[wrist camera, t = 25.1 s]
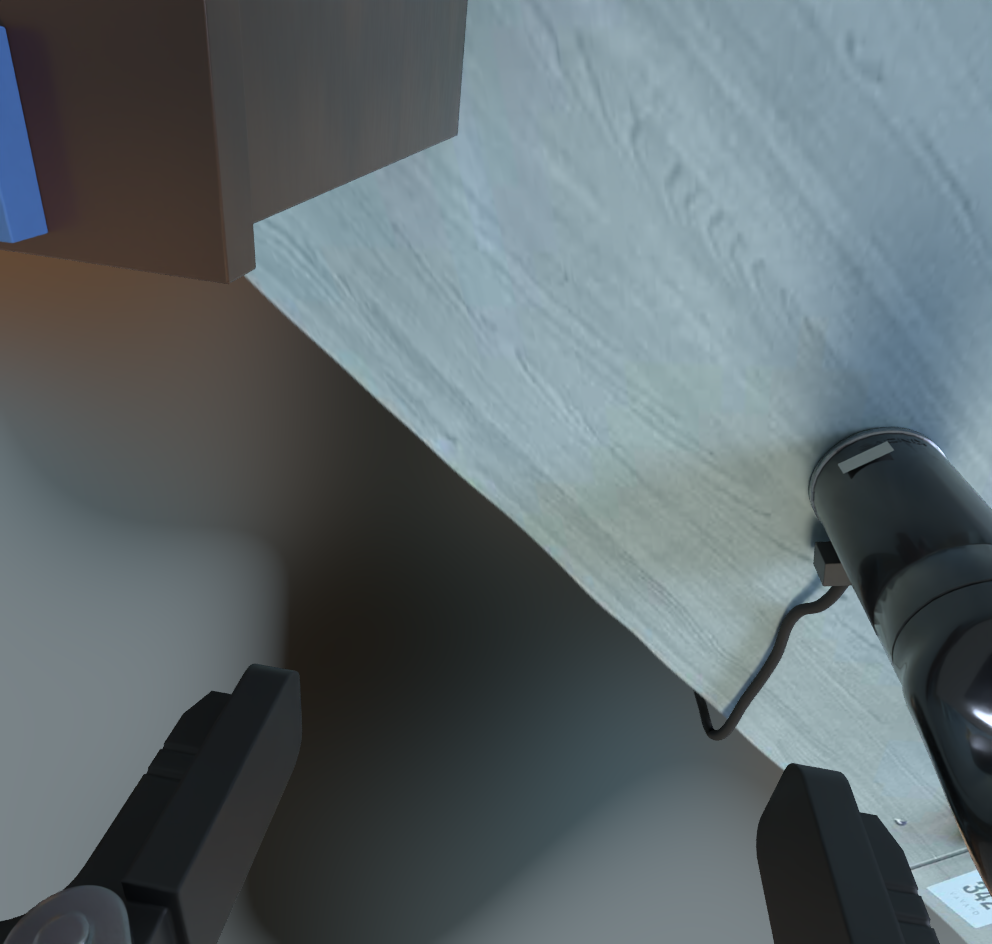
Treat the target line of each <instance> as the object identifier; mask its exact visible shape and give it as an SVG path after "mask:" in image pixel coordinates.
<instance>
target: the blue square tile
mask: <svg viewBox="0 0 992 944" xmlns="http://www.w3.org/2000/svg"><path fill="white" fill-rule="evenodd" d="M46 233H48V229H47V225H46V220H45V215H44V210H43V206H42V201H41V196H40V191H39V186H38V182H37V177H36V172H35V167H34V163H33V158H32V153H31V148H30V143H29V139H28V134H27V129H26V124H25V120H24V115H23V110H22V105H21V100H20V96H19V91H18V86H17V81H16V77H15V72H14V67H13V62H12V57H11V53H10V48H9V43H8V38H7V34H6V29H5V28H4V27H3V26H0V241H1V242H7V243H15V242H19V241H22V240H26V239H29V238H33V237H36V236H39V235H43V234H46Z"/></svg>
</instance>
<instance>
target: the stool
mask: <svg viewBox="0 0 992 944" xmlns="http://www.w3.org/2000/svg"><path fill="white" fill-rule="evenodd" d="M467 1H468V0H0V26H3V27H4V28H5V29H6V34H7V38H8V43H9V48H10V53H11V57H12V62H13V67H14V72H15V77H16V81H17V86H18V91H19V96H20V100H21V105H22V110H23V115H24V120H25V124H26V129H27V134H28V139H29V143H30V148H31V153H32V158H33V163H34V167H35V172H36V177H37V182H38V186H39V191H40V196H41V201H42V206H43V210H44V215H45V220H46V225H47V229H48V233H46V234H43V235H39V236H36V237H33V238H29V239H26V240H22V241H19V242H15V243H7V242H1V241H0V250H6V251H13V252H19V253H26V254H32V255H39V256H46V257H52V258H59V259H65V260H72V261H79V262H85V263H92V264H99V265H105V266H112V267H118V268H125V269H132V270H138V271H145V272H152V273H158V274H165V275H171V276H178V277H184V278H191V279H198V280H205V281H211V282H218V283H224V284H229V283H231V282H233V281H234V280H236V279H238V278H240V277H241V276H243V275H245V274H247V273H249V272H250V271H252V270H254V269H255V268H256V263H255V247H254V231H253V224H254V223H256V222H258V221H261V220H263V219H265V218H268V217H270V216H272V215H275V214H277V213H279V212H281V211H284V210H286V209H288V208H291V207H293V206H295V205H298V204H300V203H302V202H305V201H307V200H309V199H311V198H314V197H316V196H318V195H321V194H323V193H325V192H328V191H330V190H332V189H334V188H337V187H339V186H341V185H344V184H346V183H348V182H351V181H353V180H355V179H357V178H360V177H362V176H364V175H367V174H369V173H371V172H374V171H376V170H378V169H381V168H383V167H385V166H387V165H390V164H392V163H394V162H397V161H399V160H401V159H404V158H406V157H408V156H410V155H413V154H415V153H417V152H420V151H422V150H424V149H427V148H429V147H431V146H433V145H436V144H438V143H440V142H443V141H445V140H447V139H450V138H452V137H454V136H457V133H458V120H459V107H460V94H461V80H462V67H463V54H464V41H465V28H466V14H467Z"/></svg>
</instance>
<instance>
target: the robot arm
mask: <svg viewBox="0 0 992 944" xmlns="http://www.w3.org/2000/svg"><path fill="white" fill-rule="evenodd" d="M809 498H810V502H811V505H812V508H813V510H814V512H815V514H816V516H817V518H818V519H819V520H820V522H821V523H822V525H823V527H824V529H825V531H826V533H827V535H828V538H829V540H830V541H828V542H815V551H814V562H813V564H814V566H815V569H816V571H817V573H818V575H819V578H820V580H821V582H822V585H823V586H832V587H831V588H830V589H829V590H828V592H827V593H826V594H825V595H823V596H822V597H821V598H820V599H818V600H817V601H815V602H811V603H804V604H800V605H797V606H795V607H794V608H793V609H792V610H791V611H790V612H789V613H788V614H787V615H786V617H785V618H784V620H783V622H782V624H781V627H780V629H779V632H778V635H777V638H776V642H775V645H774V647H773V650H772V652H771V654H770V655H769V657H768V659H767V660H766V662H765V664H764V665H763V667H762V668H761V670H760V671H759V673H758V674H757V676H756V677H755V678H754V680H753V681H752V683H751V684H750V685H749V687H748V688H747V689H746V691H745V692H744V694H743V695H742V696H741V698H740V699H739V701H738V703H737V704H736V706H735V708H734V709H733V711H732V713H731V714H730V716H729V718H728V719H727V721H726V722H725V724H724V725H723V726H722V727H721V728H720V729H719V730H714V728H713V726H712V723H711V719H710V715H709V711H708V708H707V704H706V701H705V698H704V697H703V696H702V695H700V694H699V693H698V692H697V691H696V690H695V689H693V691H694V695H695V698H696V702H697V705H698V708H699V713H700V717H701V722H702V725H703V728H704V730H705V732H706V734H707V736H708V737H709V738H711V739H713V740H722V739H725V738H726V737H727V736H728V735H730V734H731V732H732V731H733V730H734V728H735V727H736V725H737V724H738V722H739V720H740V719H741V717H742V715H743V714H744V712H745V710H746V709H747V707H748V706H749V704H750V703H751V701H752V700H753V699H754V697H755V696H756V695H757V693H758V692H759V691H760V689H761V688H762V687H763V685H764V684H765V683H766V681H767V680H768V678H769V677H770V675H771V674H772V672H773V671H774V669H775V668H776V666H777V664H778V663H779V661H780V659H781V657H782V655H783V653H784V650H785V647H786V644H787V641H788V638H789V635H790V633H791V630H792V628H793V626H794V625H795V623H796V622H797V621H798V620H799V619H800V618H801V617H802V616H804V615H806V614H813V613H819V612H822V611H824V610H826V609H827V608H829V607H830V606H831V605H833V604H834V603H835V602H836V601H837V600H838V599H839V598H840V596H841V595H842V594H843V593H844V591H845V590H846V589H847V588H848V586H849V585H852V586H853V588H854V590H855V592H856V594H857V596H858V598H859V600H860V602H861V604H862V606H863V608H864V610H865V612H866V614H867V616H868V619H869V621H870V623H871V625H872V627H873V629H874V631H875V633H876V635H877V636H878V638H879V640H880V642H881V644H882V646H883V648H884V650H885V652H886V654H887V656H888V658H889V660H890V662H891V664H892V666H893V668H894V670H895V673H896V675H897V677H898V679H899V681H900V683H901V685H902V689H903V695H904V698H905V702H906V704H907V707H908V709H909V712H910V714H911V716H912V718H913V720H914V723H915V725H916V727H917V729H918V731H919V733H920V736H921V738H922V740H923V743H924V745H925V747H926V750H927V752H928V754H929V757H930V759H931V761H932V764H933V766H934V769H935V771H936V774H937V776H938V779H939V781H940V784H941V786H942V789H943V791H944V794H945V796H946V799H947V801H948V804H949V806H950V809H951V811H952V814H953V816H954V819H955V821H956V824H957V826H958V829H959V831H960V833H961V835H962V838H963V840H964V842H965V844H966V847H967V849H968V851H969V853H970V856H971V858H972V860H973V862H974V864H975V866H976V868H977V870H978V872H979V874H980V876H981V878H982V880H983V882H984V884H985V886H986V887H987V889H988V891H989V893H990V895H991V897H992V509H991V508H990V507H989V505H988V504H987V503H986V502H985V501H984V500H983V499H982V498H981V497H980V495H979V494H978V493H977V492H976V491H975V490H974V489H973V488H972V487H971V485H970V484H969V483H968V482H967V481H966V480H965V479H964V478H963V477H962V475H961V474H960V473H959V472H958V471H957V470H956V469H955V467H954V466H953V465H952V464H951V463H950V462H949V461H948V460H947V458H946V457H945V455H944V453H943V452H942V451H941V450H940V448H939V447H938V446H937V445H936V444H935V443H934V442H933V441H932V440H930V439H929V438H928V437H926V436H924V435H923V434H921V433H918V432H916V431H913V430H910V429H905V428H899V427H881V428H874V429H869V430H866V431H862V432H859V433H857V434H854V435H852V436H850V437H848V438H846V439H844V440H842V441H841V442H839V443H838V444H836V445H835V446H834V447H833V448H831V449H830V450H829V451H828V452H827V453H826V454H825V455H824V456H823V457H822V459H821V460H820V461H819V463H818V464H817V466H816V468H815V470H814V472H813V474H812V477H811V480H810V485H809ZM301 737H302V719H301V696H300V677H299V673H298V672H297V671H292V670H287V669H281V668H276V667H270V666H265V665H260V664H252V665H250V666H249V667H248V669H247V670H246V671H245V673H244V674H243V676H242V678H241V679H240V681H239V683H238V684H237V686H236V688H235V689H234V691H233V693H232V694H227V693H221V692H215V691H211V692H210V693H209V694H208V695H206V696H205V697H204V698H202V699H201V700H200V701H199V702H197V703H196V704H195V705H194V706H192V707H191V708H190V709H189V710H187V711H186V712H185V713H184V714H183V715H182V716H181V718H180V720H179V721H178V723H177V724H176V726H175V727H174V729H173V730H172V732H171V733H170V735H169V737H168V738H167V740H166V741H165V743H164V747H163V749H160V750H159V752H158V753H157V755H156V757H155V758H154V760H153V761H152V763H151V764H150V766H149V767H148V772H147V774H144V775H143V776H142V778H141V780H140V781H139V783H138V785H137V786H136V787H135V789H134V790H133V792H132V793H131V795H130V796H129V798H128V800H127V801H126V803H125V804H124V806H123V807H122V809H121V810H120V812H119V814H118V815H117V817H116V818H115V820H114V821H113V823H112V824H111V826H110V827H109V829H108V830H107V832H106V833H105V835H104V837H103V838H102V840H101V841H100V843H99V844H98V846H97V847H96V849H95V851H94V852H93V853H92V855H91V857H90V858H89V860H88V861H87V863H86V864H85V866H84V867H83V868H82V870H81V871H80V873H79V874H78V875H77V876H76V878H75V879H74V880H73V881H72V882H71V883H70V884H69V885H68V886H67V887H66V888H65V889H63V890H62V891H60V892H58V893H56V894H54V895H51V896H50V897H48V898H47V899H45V900H43V901H41V902H40V903H38V904H37V905H36V906H35V907H33V908H32V909H31V910H29V911H28V912H27V913H26V914H24V915H21V916H18V917H15V918H13V919H9V920H5V921H0V944H217V942H218V939H219V937H220V935H221V933H222V930H223V928H224V926H225V924H226V922H227V919H228V917H229V915H230V912H231V910H232V908H233V905H234V903H235V901H236V899H237V896H238V894H239V892H240V890H241V887H242V885H243V883H244V880H245V878H246V876H247V874H248V871H249V869H250V867H251V864H252V862H253V860H254V858H255V855H256V853H257V851H258V849H259V846H260V844H261V842H262V839H263V837H264V835H265V833H266V830H267V828H268V826H269V824H270V821H271V819H272V817H273V815H274V812H275V810H276V808H277V806H278V803H279V801H280V799H281V796H282V794H283V792H284V789H285V787H286V785H287V783H288V780H289V778H290V776H291V773H292V771H293V769H294V766H295V763H296V760H297V757H298V753H299V749H300V744H301ZM756 841H757V842H756V848H757V859H758V864H759V869H760V875H761V880H762V885H763V890H764V895H765V900H766V905H767V909H768V914H769V920H770V925H771V929H772V934H773V939H774V944H940V943H939V941H938V938H937V936H936V933H935V931H934V929H933V928H931V927H930V918H929V915H928V913H927V910H926V908H925V905H924V902H923V900H922V897H921V896H919V895H918V892H917V890H918V887H917V885H916V882H915V879H914V877H913V874H912V872H911V869H910V867H909V864H908V862H907V859H906V856H905V854H904V851H903V850H902V848H901V847H900V846H899V844H898V843H897V842H896V840H895V839H894V838H893V836H892V835H891V834H890V832H889V831H888V830H887V828H886V827H885V826H884V824H883V823H882V822H881V821H880V819H879V818H878V817H877V815H871V814H866V813H861V812H859V810H858V807H857V804H856V801H855V798H854V795H853V792H852V790H851V787H850V784H849V782H848V780H847V778H846V777H845V776H844V774H842V773H841V772H838V771H833V770H828V769H822V768H816V767H811V766H805V765H800V764H794V763H791V764H789V765H788V766H787V767H786V769H785V770H784V772H783V774H782V776H781V778H780V780H779V782H778V784H777V786H776V788H775V790H774V792H773V794H772V796H771V798H770V800H769V802H768V804H767V806H766V808H765V810H764V812H763V814H762V816H761V818H760V821H759V824H758V830H757V839H756Z"/></svg>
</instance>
